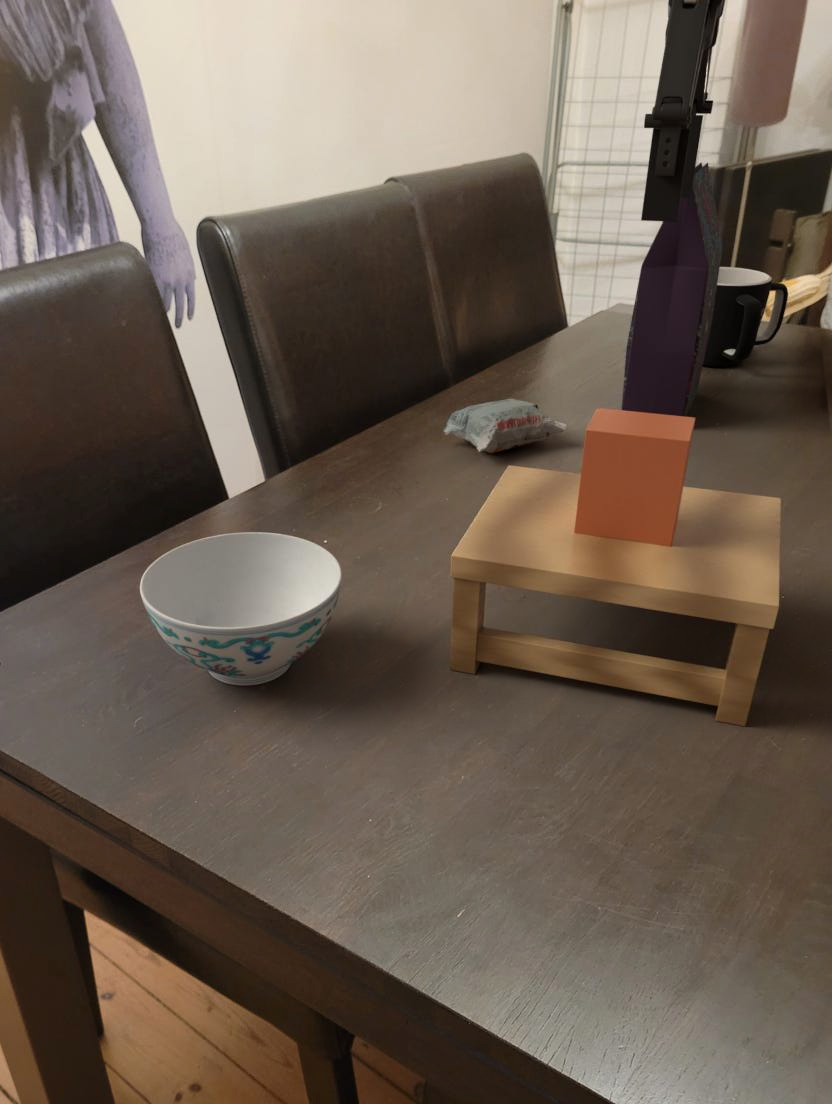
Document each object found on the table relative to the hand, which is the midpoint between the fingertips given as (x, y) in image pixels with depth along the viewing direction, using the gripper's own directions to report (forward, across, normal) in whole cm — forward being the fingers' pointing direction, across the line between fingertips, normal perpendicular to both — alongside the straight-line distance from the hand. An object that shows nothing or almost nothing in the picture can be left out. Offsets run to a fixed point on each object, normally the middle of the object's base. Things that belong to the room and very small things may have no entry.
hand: (667, 208), depth 82 cm
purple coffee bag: (+29, -35, 0) cm, 45 cm away
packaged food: (+29, -15, -16) cm, 36 cm away
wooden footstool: (+29, +24, +2) cm, 37 cm away
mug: (+29, -59, +5) cm, 66 cm away
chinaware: (+29, +37, -24) cm, 53 cm away
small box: (+19, +24, +2) cm, 31 cm away
